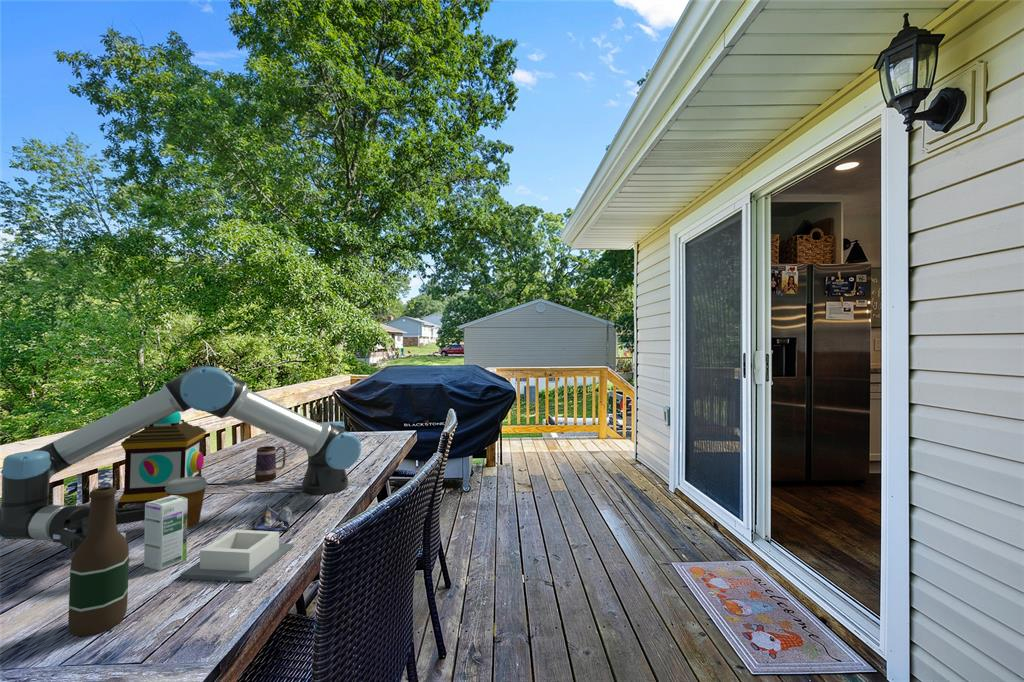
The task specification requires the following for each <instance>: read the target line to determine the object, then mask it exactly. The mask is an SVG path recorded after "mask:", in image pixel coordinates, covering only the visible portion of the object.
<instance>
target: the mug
mask: <svg viewBox="0 0 1024 682" xmlns="http://www.w3.org/2000/svg"><path fill="white" fill-rule="evenodd" d="M280 449H282V450H283V455H282V465H281V466H280V467H277V461H276V459H277V457H276V455H277V454H276V453H277V452H279V450H280ZM255 453H256V458H255V459H256V460H255V469H254V481H255V482H261V483H265V481H266V482H271V481H274V480H275V479H276V478H277V471H279V470H282V469H284V468H285V465H286V454H287V448H286V446H285V445H283V444H282V445H279V446H278V447H277V448H276V446H273V445H267V446H260V447H257V449H256V452H255Z"/></svg>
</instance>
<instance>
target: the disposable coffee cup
mask: <svg viewBox="0 0 1024 682" xmlns="http://www.w3.org/2000/svg"><path fill="white" fill-rule="evenodd" d="M207 485H208V482H207V479H206V478H205V477H203V476H202V477H186V478H180V479H175V480H172V481H170V482H168V483H167V486H166V487H165V490H166V492H167V497H169V496H171V495H176V496H182V497H185V498H187V501H188V502H187V529H189V528H193V527H195V526H197V525H199V524H200V520H201V519H200V518H201V512H202V507H203V503H204V497H205V491H206V487H207Z"/></svg>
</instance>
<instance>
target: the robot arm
mask: <svg viewBox="0 0 1024 682" xmlns="http://www.w3.org/2000/svg"><path fill="white" fill-rule="evenodd" d="M190 409H193V410H196V411H199V412H206V413H208V414H209V415H212V416H215V417H216V418H217V417H218V418H219V419H225V418H228V417H232V418H234V419H236V420H238V421H241V422H243V423H245V424H247V425H250V426H252V427H254V428H257V429H259V430H261V431H263V432H266V433H268V434H270V435H273V436H275V437H277V438H280V439H281V440H284V441H287V442H289V443H291V444H293V445H295V446H298V447H300V448H303V449H305V451H306V454H307V468H306V471H305V473H304V476H303V480H302V482H301V491H302V493H305V494H310V495H327V493H328V494H333V493H332V492H334V493H338V492H340V490H341V491H343V489H344V490H346V489H347V488H348V487H347V486H349V478H348V475H347V474H348V473H347V471H346V469H348V468H350V467H352V466H353V465H355V464H356V462H357V461H358V460H359V458H360V456H361V453H362V442H361V441H360V439H359V438H358V436H357V435H356V434H355V433H352V432H349V431H347V430H345V429H346V426H345V422H344V421H326V422H325V421H323V422H317V421H315V420H312V418H309V417H307V416H304V415H302V414H300V413H298V412H296V411H294V410H292V409H290V408H287V407H285V406H284V405H281V404H280V403H277V402H275V401H273V400H271V399H269V398H267V397H264V396H262V395H260V394H258V393H256V392H254V391H252V390H250V389H249V387H248V383H247V382H246V381H244V380H242V379H240V378H238V377H236V376H234V375H232V374H229V373H228V372H226V371H225V370H223V369H221V368H218V367H216V366H212V365H207V364H205V365H204V364H203V365H197V366H193V367H191V368H189V369H188V370H186V371H185V372H184V373H182V374H180V375H179V376H177V377H175V378H174V379H172V380H169V381H168V382H166V383H163V385H162V387H161V389H160V390H159V389H158V390H157V391H156V392H153V393H150V394H149V395H147V396H145V397H143V398H141V399H138V400H137V401H134V402H132V403H131V404H128V405H127V406H124V407H123V408H120V409H118V410H116V411H114V412H112V413H109V414H108V415H105V416H104V417H101V418H99V419H97V420H95V421H93V422H90V423H89V424H87V425H85V426H83V427H81V428H78V429H76V430H74V431H73V432H70V433H68V434H66V435H64V436H61V437H60V438H58V439H55V440H53V441H52V442H50V443H48V444H46V445H44V446H41V447H38V448H35V449H32V450H28V451H21V452H15V453H12V454H8V455H7V456H5V457H4V459H3V461H2V468H1V470H0V474H1V502H0V503H1V504H0V539H5V540H33V541H34V540H35V541H48V542H49V543H56V544H60V545H62V546H64V547H65V548H67V549H68V550H70V551H71V552H75V551H76V549H77V548H78V546H79V545H80V544H81V542H82V541H83V540H84V538H85V536H86V532H87V528H88V519H89V511H90V506H85V505H84V506H82V505H80V506H79V505H63V504H49V501H50V500H49V499H50V498H49V497H50V480H51V478H52V477H53V476H54V475H56V474H58V473H60V472H62V471H64V470H66V469H68V468H69V467H71V466H73V465H75V464H77V463H79V462H81V461H82V460H84V459H86V458H90V456H91V457H92V456H93V455H95V454H96V453H98V452H100V451H102V450H104V449H106V448H108V447H110V446H112V445H114V444H116V443H117V442H120V441H122V440H123V439H124V440H125V439H126V438H129V437H130V435H132V434H135V433H137V432H140V431H142V430H144V428H145V427H148V426H149V425H151V424H153V423H155V422H157V421H159V420H161V419H163V418H165V417H167V416H169V415H171V414H173V413H175V412H179V413H184V412H186V411H188V410H190ZM346 487H347V488H346ZM337 491H338V492H337ZM115 512H116V525H117V526H118V525H124V524H129V523H130V524H131V523H136V522H142V521H145V506H134V507H132V506H131V507H125V508H117V507H115ZM120 533H121V534H122V535H123V536H124V537H125V539H126V538H127V533H126V532H120ZM126 540H127V539H126Z"/></svg>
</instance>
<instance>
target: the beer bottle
mask: <svg viewBox="0 0 1024 682" xmlns="http://www.w3.org/2000/svg"><path fill="white" fill-rule="evenodd" d="M117 493H118V491H117V487H115V486H102V487H97V488H93V489H92V490H91V491H90V492H89V494H88V498H89V499H90V502H89V503H90V504H89V508H90V511H89V519H88V528H87V532H86V536H85V538H84V540H83V541H82V542H81V544H80V545H79V546H78V548H77V549H76V551H74V553H73V555H72V557H71V562H70V570H69V590H68V591H69V593H68V594H69V595H68V596H69V597H68V618H67V619H68V620H67V622H68V633H69V634H70V635H73V636H76V637H79V638H84V637H88V636H94V635H99V634H102V633H103V634H104V633H105V632H106V631H108V630H111V629H112V628H114V627H117V626H119V625H120V624H121V622H122V621H123V620H124V618H125V616H126V614H127V612H128V610H127V609H128V599H129V597H128V596H129V594H128V593H129V569H130V568H129V567H130V566H129V564H130V563H129V562H130V549H129V544H128V541H127V539H125V537H124V536H123V535H122V534H121V533H122V532H121V531H119V530H118V529H119V528H118V525H116V512H115V508H116V497H115V496H116V494H117Z"/></svg>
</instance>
